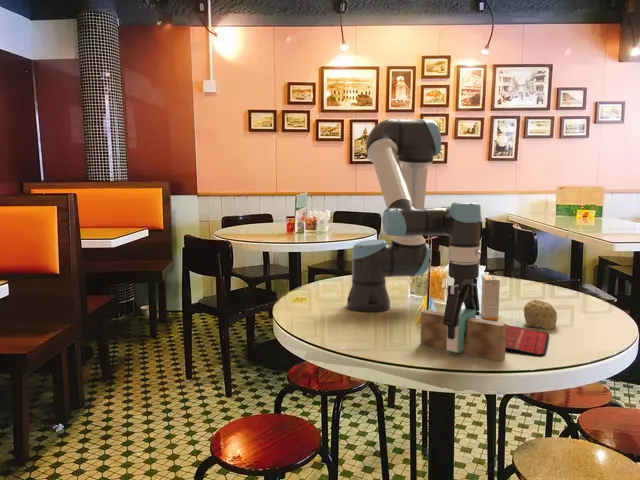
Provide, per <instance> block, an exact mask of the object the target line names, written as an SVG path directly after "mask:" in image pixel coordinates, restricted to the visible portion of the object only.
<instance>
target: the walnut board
mask: <svg viewBox="0 0 640 480" xmlns="http://www.w3.org/2000/svg"><path fill="white" fill-rule="evenodd" d="M444 313H445V312H442V311H435V310H431V309H425V310H422V311H421V312H420V345H423V346H429V347H433V348H437V349H442V350H446V347H447V325H443V319H444ZM506 325H508V323H506V322H501V321H496V320H487V319H483V318H477V317H476V318H470V319H468V320H467V334H464V350H462V351H461V352H459V354H460V353H461V354H465V355H470V356H475V357H478V358H483V359H489V360H492V361H493V360H494V361H497V362H502V361H503V360H505V359H506V352H505V347H506Z"/></svg>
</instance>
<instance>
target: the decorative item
mask: <svg viewBox="0 0 640 480" xmlns="http://www.w3.org/2000/svg"><path fill="white" fill-rule="evenodd" d="M523 313H524V314H523V316H524V321H525V324H526V325H527V326H529V327H530V328H532V327H533V328H535V329H537V328H542V329H546V330H552V329H555V328H556V325H557V320H558V316H557V315H558V314H557V311H556V309H555V307H554V306H553V305H552V304H550V303H549V302H546V301H541V300H537V299H532V300H530V301H529V302H526V304H525V305H524V307H523Z"/></svg>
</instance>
